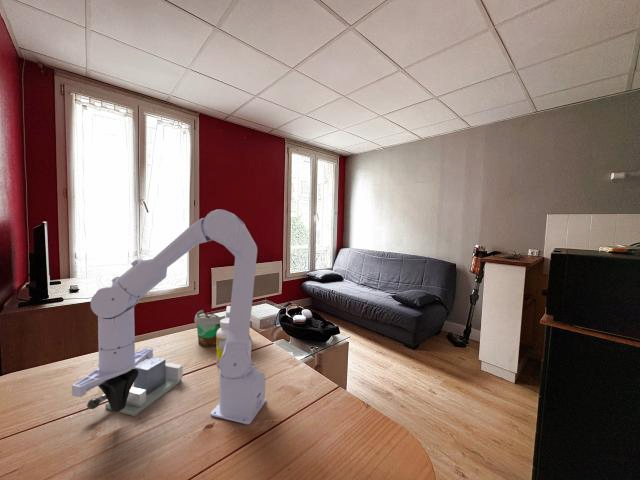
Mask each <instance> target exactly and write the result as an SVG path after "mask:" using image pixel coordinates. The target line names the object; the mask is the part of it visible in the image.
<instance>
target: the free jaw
mask: <svg viewBox="0 0 640 480" xmlns="http://www.w3.org/2000/svg"><path fill="white" fill-rule="evenodd" d="M106 400H108V399H107V397H106V395H105V394H104V393H103V394H102V395H100V396H98V397H94V398H91V399H90V400H89V401H88V402H87V404H86V407H87V408H88V410H95V409H96V408H98V407H99V405H100V404H101V403H103V402H104V401H106ZM145 403H146V390H144V389H140V388H135V387H133V386H132V387H131V389H130V392H129V395H128V398H127V402H126V404H129V405H133V406H137V407H141V406H142V405H144V404H145Z"/></svg>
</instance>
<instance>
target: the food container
mask: <svg viewBox="0 0 640 480" xmlns="http://www.w3.org/2000/svg"><path fill="white" fill-rule="evenodd" d="M224 318H226V315H223V316H219V315H216V314H214V313H206V312H204V309H201V310H199V311H197V312H196V314H195V316H194V323H195V324H196V331H197V340H198V341H197V342H198V345H199V346H200V347H204V348H212V347H213V348H214V347H216V333H217V331H218V329H220V328H221V326H220V320H222V319H224Z"/></svg>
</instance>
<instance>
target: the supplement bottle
mask: <svg viewBox="0 0 640 480" xmlns="http://www.w3.org/2000/svg"><path fill="white" fill-rule="evenodd" d="M220 326H221V328H220V329H218V331H217V333H216V346H215V347H216V355H215V356H216V358H215V359H216V361H215V362H216V365H217V366H218V367H219V362H220V359H221V357H222V354H223V351H224V346H225V341H226V339H227V335H228V328H229V318H226V317H225V318H224V319H222V320H220Z"/></svg>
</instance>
